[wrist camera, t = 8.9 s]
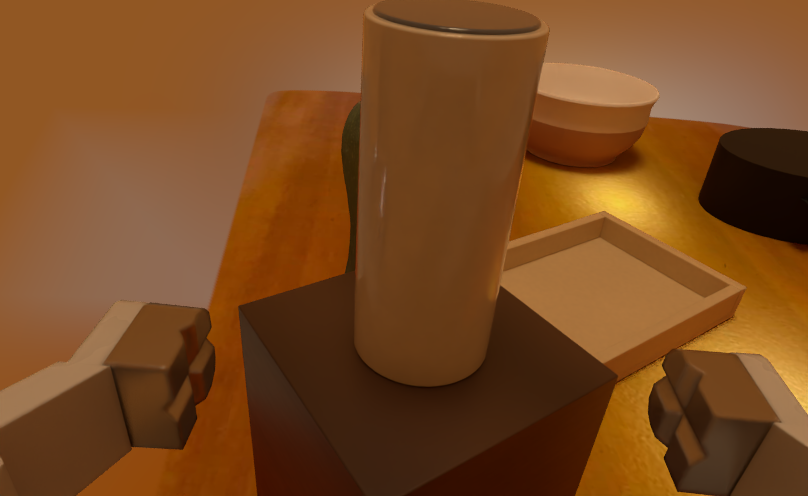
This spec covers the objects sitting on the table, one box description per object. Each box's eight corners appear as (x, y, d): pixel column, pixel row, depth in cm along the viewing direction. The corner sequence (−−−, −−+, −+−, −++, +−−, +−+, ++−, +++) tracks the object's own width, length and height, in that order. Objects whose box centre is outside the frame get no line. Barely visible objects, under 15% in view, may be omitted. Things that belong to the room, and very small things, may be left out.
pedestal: (359, 723, 20) (375, 511, 14) (259, 516, 26) (237, 305, 20) (544, 582, 24) (619, 375, 18) (421, 435, 31) (445, 242, 24)
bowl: (527, 177, 60) (542, 103, 56) (484, 124, 73) (494, 60, 69) (666, 177, 63) (691, 105, 59) (600, 125, 76) (616, 64, 72)
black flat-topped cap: (669, 187, 63) (689, 122, 59) (827, 183, 64) (857, 118, 60) (742, 264, 51) (773, 189, 47) (936, 257, 52) (982, 184, 48)
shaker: (402, 408, 16) (438, 37, 11) (329, 322, 19) (329, -3, 14) (515, 356, 19) (591, 25, 13) (434, 285, 22) (469, -7, 16)
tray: (578, 403, 33) (589, 370, 32) (446, 290, 42) (450, 260, 41) (733, 316, 42) (747, 287, 40) (596, 236, 50) (604, 210, 49)
